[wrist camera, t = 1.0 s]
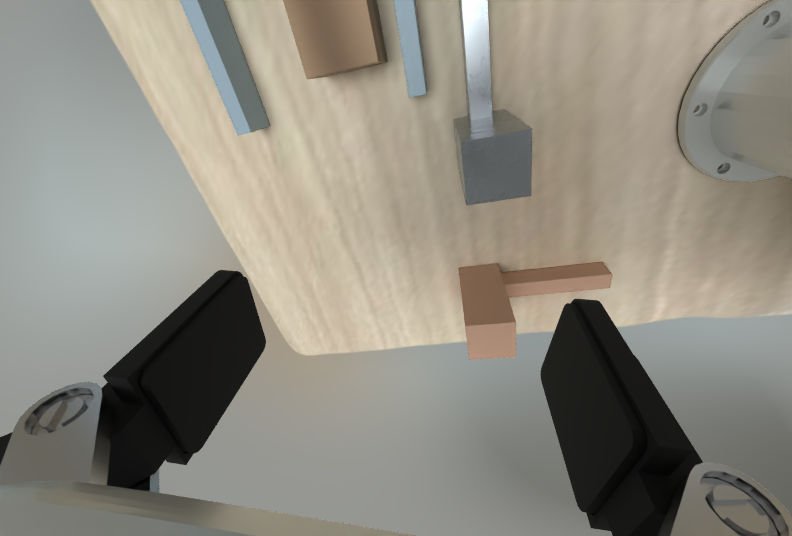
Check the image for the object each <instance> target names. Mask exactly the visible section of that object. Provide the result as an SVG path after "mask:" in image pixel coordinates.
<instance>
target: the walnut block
mask: <svg viewBox="0 0 792 536" xmlns="http://www.w3.org/2000/svg"><path fill="white" fill-rule="evenodd" d="M283 1H284V5H285V8H286V11H287V15H288V18H289V21H290V25H291V28H292V31H293V35H294V38H295V41H296V45H297V48H298V51H299V55H300V58H301V61H302V65H303V68H304V71H305V75H306V78H307V79H313V78H321V77H328V76H332V75H336V74H340V73H345V72H349V71H353V70H357V69H361V68H365V67H369V66H373V65H377V64H381V63H385V62H388V60H387V55H386V49H385V44H384V38H383V33H382V27H381V22H380V16H379V11H378V6H377V0H283Z"/></svg>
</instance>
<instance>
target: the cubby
mask: <svg viewBox="0 0 792 536" xmlns="http://www.w3.org/2000/svg"><path fill="white" fill-rule="evenodd" d="M180 2H181V4H182V7H183V9H184V11H185V14H186V16H187V18H188V21H189V23H190V25H191V28H192V30H193V32H194V35H195V37H196V39H197V42H198V44H199V46H200V49H201V51H202V53H203V56H204V58H205V60H206V63H207V65H208V67H209V70H210V72H211V74H212V77H213V79H214V81H215V84H216V86H217V88H218V91H219V93H220V95H221V98H222V100H223V102H224V105H225V107H226V109H227V112H228V114H229V116H230V119H231V121H232V123H233V126H234V128H235V130H236V133H237V135H242V134H247V133H251V132H254V131H256V130H259V129H262V128H264V127H267V126H269V125H270V123H269V121H268V118H267V115H266V113H265V110H264V107H263V105H262V102H261V99H260V97H259V94H258V91H257V89H256V86H255V83H254V81H253V78H252V75H251V72H250V70H249V67H248V64H247V62H246V59H245V56H244V54H243V51H242V48H241V46H240V43H239V40H238V38H237V35H236V32H235V30H234V27H233V24H232V22H231V19H230V16H229V14H228V11H227V8H226V6H225V3H224V0H180ZM394 5H395V11H396V17H397V24H398V30H399V36H400V42H401V48H402V55H403V61H404V67H405V73H406V80H407V86H408V92H409V98H410V97H415V96H419V95H424V94H426V93H427V85H426V77H425V70H424V62H423V55H422V47H421V40H420V32H419V25H418V17H417V10H416V3H415V0H394Z"/></svg>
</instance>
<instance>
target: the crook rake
mask: <svg viewBox="0 0 792 536" xmlns="http://www.w3.org/2000/svg"><path fill="white" fill-rule="evenodd" d="M459 5H460V18H461V30H462V43H463V56H464V69H465V81H466V94H467V107H468V117H463V118H458V119H453V120H454V130H455V140H456V150H457V159H458V168H459V173H460V178H461V182H462V187H463V192H464V196H465V201H466V205H472V204H479V203H486V202H492V201H499V200H506V199H513V198H519V197H526V196H531V164H532V128H530V127H529V126H527V125H526V124H525V123H523V122H522V121H520V120H519V119H517V118H516V117H514V116H513V115H511V114H510V113H509V112H507V111H506V110H504V109H503V110H498V111H493V112H492V94H491V71H490V48H489V25H488V2H487V0H459Z"/></svg>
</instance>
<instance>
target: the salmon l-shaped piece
mask: <svg viewBox="0 0 792 536" xmlns="http://www.w3.org/2000/svg"><path fill="white" fill-rule="evenodd" d="M459 275H460V284H461V293H462V302H463V311H464V320H465V329H466V337H467V345H468V354H469V360H471V359H488V358H506V357H516V321H515V318H514V315H513V311H512V308H511V305H510V302H509V298H508V297H517V296H528V295H538V294H549V293H560V292H571V291H582V290H593V289H603V288H610V285H611V280H612V273H611V272H610V271H609V269H608V268H607V267H606V266H605V265H604V263H603V262H597V263H588V264H579V265H569V266H560V267H551V268H541V269H532V270H522V271H513V272H504V273H501V272H500V269H499V266H498V264H489V265H480V266H471V267H462V268H459Z"/></svg>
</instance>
